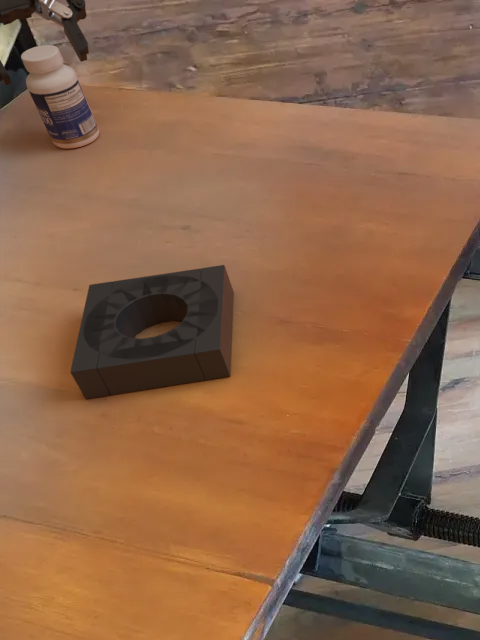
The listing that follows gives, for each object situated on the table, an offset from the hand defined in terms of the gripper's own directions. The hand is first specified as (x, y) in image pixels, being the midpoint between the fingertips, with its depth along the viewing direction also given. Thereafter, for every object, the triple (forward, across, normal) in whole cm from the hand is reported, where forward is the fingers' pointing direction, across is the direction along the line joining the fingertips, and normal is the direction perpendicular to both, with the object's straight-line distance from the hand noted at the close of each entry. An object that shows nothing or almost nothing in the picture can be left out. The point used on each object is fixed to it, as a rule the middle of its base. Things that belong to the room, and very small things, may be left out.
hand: (46, 69), depth 98 cm
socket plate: (+36, -6, -25) cm, 44 cm away
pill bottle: (+6, 0, +6) cm, 8 cm away
